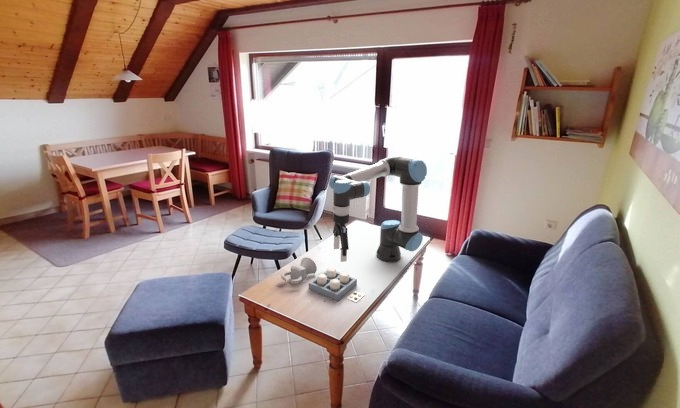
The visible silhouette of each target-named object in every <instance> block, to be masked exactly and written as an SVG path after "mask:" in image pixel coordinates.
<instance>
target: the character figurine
mask: <svg viewBox="0 0 680 408" xmlns="http://www.w3.org/2000/svg"><path fill="white" fill-rule="evenodd" d="M317 270H318V268H317V265H316V262H315V261H314V260H313V259H312V258H310V257H303V258H302V259H301V260H300V265H298V264H296V265H292V266H290V271H284V272H282V273H281V274H280V277H281V280H283V281H288V283H290V284H299V283H303V282H304V281H305V280H306V279H307V275H311V274H316V272H317ZM286 276H290V279H288V280H287V279H286Z"/></svg>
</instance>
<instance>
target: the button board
mask: <svg viewBox="0 0 680 408" xmlns="http://www.w3.org/2000/svg"><path fill="white" fill-rule="evenodd" d="M340 273H341V272H339V271H336V278H335V279H338V280H339V274H340ZM321 274H325V275H326V271H324V272H323V273H321ZM330 280H332V279H329V278H327V284H326V285H325V286H320V285H317V277H315V278H314V279H312V280H310V281H309V282H308V290H309V291H311V292H312V293H316V294H318V295H321V296H322V297H325V298H327V299H330V300H331V301H334V302H336V303H337V302H339V301H340V300H341V299H342V298H343V297H345V296H346V295H347V294H349V292H351V291H353V289H354V288H357V284H358V283H357V282H358V280H357V278H356V277H352V276H350V275H349V283H348V284H342V283H340V290H339V291H336V292H334V291H332V290H330Z"/></svg>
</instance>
